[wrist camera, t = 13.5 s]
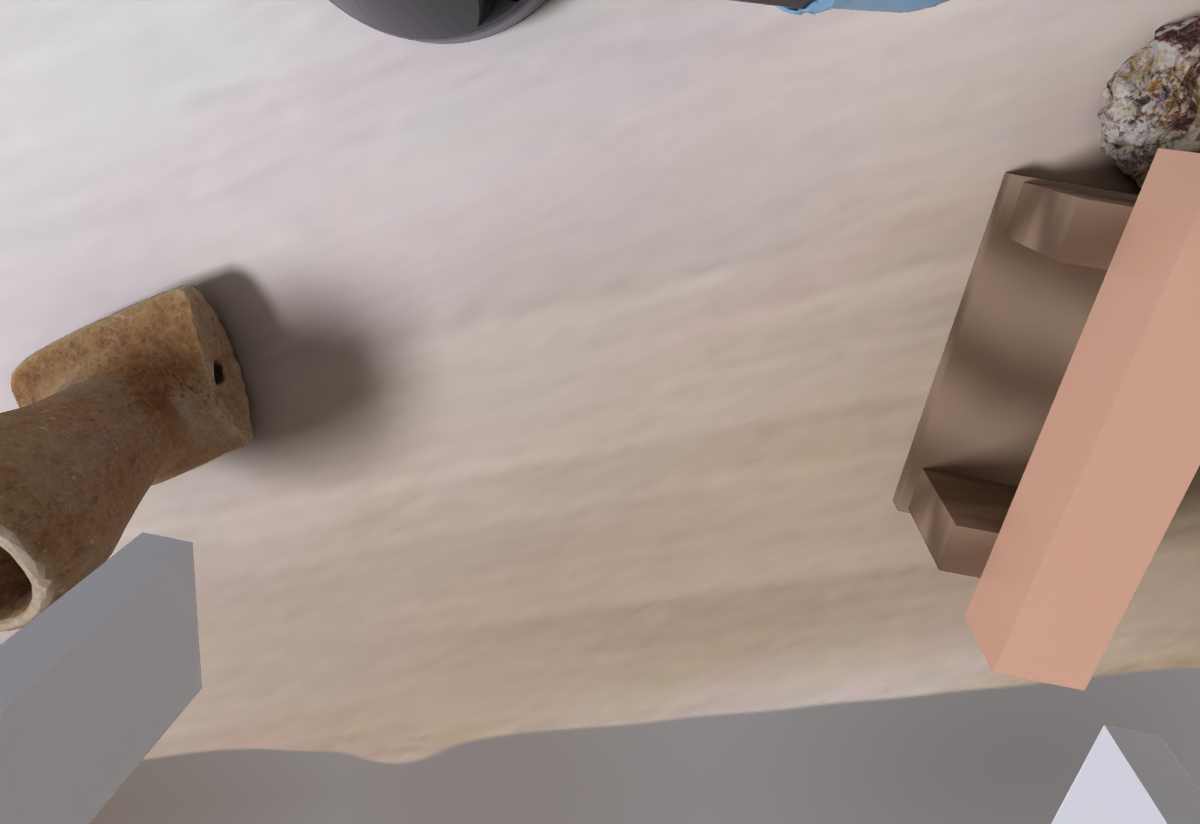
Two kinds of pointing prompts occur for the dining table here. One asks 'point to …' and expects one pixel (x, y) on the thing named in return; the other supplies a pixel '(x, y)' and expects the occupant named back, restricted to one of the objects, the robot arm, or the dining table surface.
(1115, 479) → the salmon pink square bar
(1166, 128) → the mineral rock
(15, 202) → the dining table surface
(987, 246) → the bronze cradle base
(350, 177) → the dining table surface
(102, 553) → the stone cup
